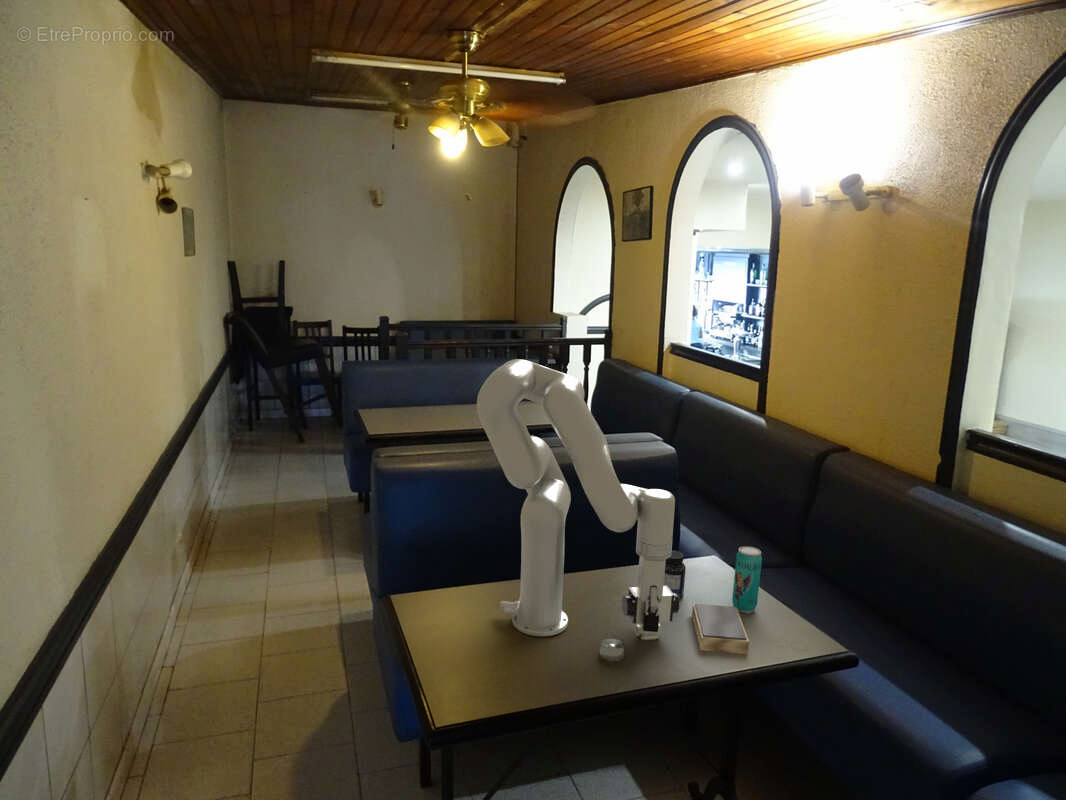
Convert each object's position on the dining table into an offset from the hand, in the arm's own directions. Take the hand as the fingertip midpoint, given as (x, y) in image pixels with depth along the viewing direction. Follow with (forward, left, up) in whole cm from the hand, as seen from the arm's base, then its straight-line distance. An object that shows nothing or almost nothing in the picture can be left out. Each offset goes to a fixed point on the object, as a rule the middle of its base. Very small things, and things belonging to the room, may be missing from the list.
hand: (649, 620), depth 162 cm
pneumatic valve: (0, 0, -4) cm, 4 cm away
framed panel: (+16, +3, -4) cm, 17 cm away
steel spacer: (-8, -9, -4) cm, 13 cm away
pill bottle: (+7, +20, -4) cm, 22 cm away
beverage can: (+24, +16, -4) cm, 29 cm away
